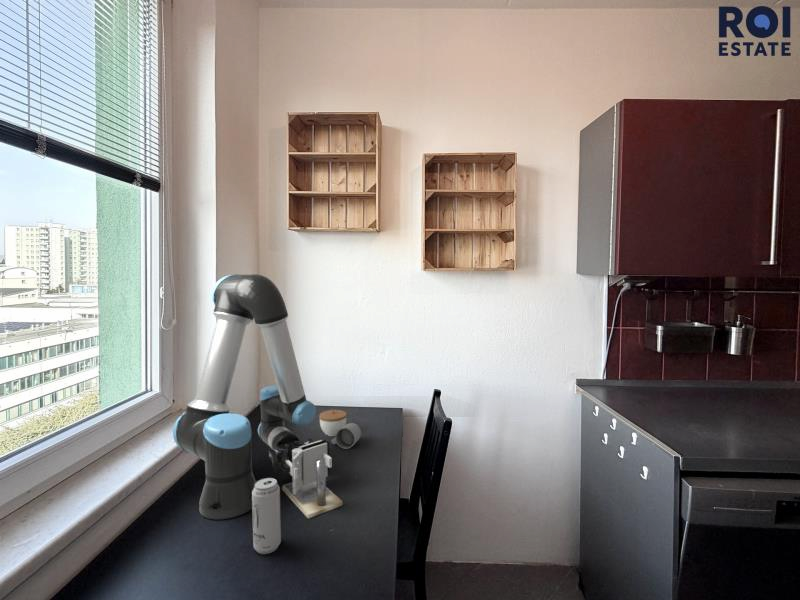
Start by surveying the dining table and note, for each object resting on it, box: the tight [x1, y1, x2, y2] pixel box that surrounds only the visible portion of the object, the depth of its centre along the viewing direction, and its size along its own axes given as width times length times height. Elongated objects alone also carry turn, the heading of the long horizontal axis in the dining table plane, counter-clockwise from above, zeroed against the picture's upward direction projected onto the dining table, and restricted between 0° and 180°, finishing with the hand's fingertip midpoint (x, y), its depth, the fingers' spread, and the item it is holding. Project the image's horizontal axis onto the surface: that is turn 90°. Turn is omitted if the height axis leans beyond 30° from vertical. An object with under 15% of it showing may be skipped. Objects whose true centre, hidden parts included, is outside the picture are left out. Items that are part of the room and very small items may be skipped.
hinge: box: [291, 439, 330, 495], centre depth 116 cm, size 14×5×10 cm, turn 145°
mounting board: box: [281, 485, 344, 519], centre depth 114 cm, size 10×18×1 cm, turn 37°
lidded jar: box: [318, 409, 348, 437], centre depth 161 cm, size 11×11×9 cm
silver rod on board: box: [283, 458, 333, 506], centre depth 114 cm, size 9×17×12 cm, turn 37°
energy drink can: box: [251, 477, 282, 555], centre depth 92 cm, size 6×6×15 cm
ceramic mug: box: [330, 422, 362, 450], centre depth 150 cm, size 11×8×8 cm
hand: (313, 468), depth 112 cm, fingers closed on hinge, 9 cm apart
